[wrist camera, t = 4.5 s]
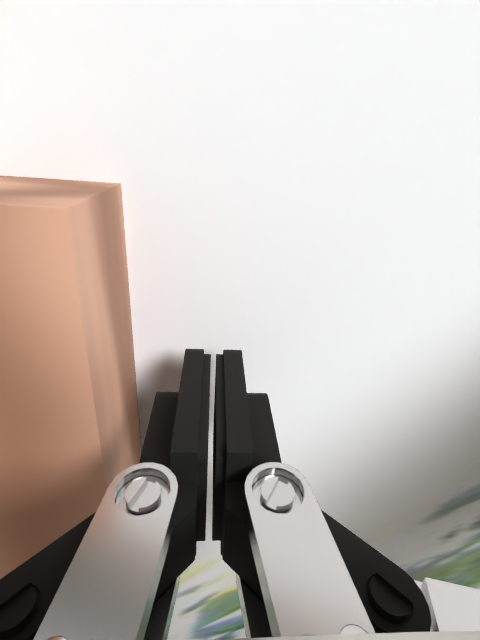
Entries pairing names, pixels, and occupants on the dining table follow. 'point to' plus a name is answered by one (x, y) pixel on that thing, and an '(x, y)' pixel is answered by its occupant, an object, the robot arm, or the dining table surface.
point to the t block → (62, 358)
